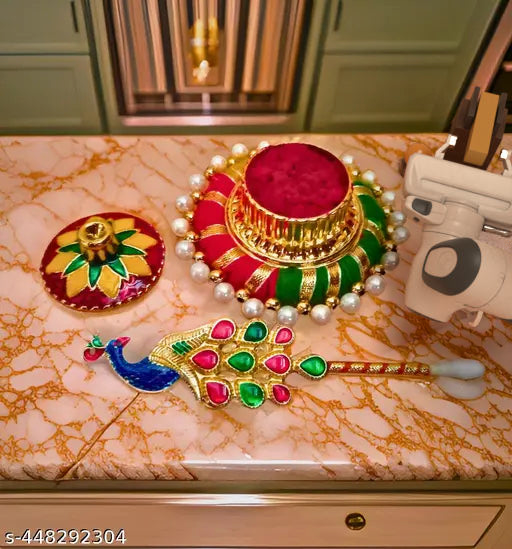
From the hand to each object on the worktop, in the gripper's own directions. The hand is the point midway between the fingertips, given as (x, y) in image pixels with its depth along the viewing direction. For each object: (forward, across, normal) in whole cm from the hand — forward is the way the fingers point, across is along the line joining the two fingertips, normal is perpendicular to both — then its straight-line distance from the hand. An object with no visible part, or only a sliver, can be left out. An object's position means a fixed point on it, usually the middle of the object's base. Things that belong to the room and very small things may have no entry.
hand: (479, 142), depth 94 cm
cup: (-26, -9, +15) cm, 31 cm away
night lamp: (+1, +8, +31) cm, 32 cm away
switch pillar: (-6, 0, +27) cm, 27 cm away
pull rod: (+3, 0, +4) cm, 5 cm away
